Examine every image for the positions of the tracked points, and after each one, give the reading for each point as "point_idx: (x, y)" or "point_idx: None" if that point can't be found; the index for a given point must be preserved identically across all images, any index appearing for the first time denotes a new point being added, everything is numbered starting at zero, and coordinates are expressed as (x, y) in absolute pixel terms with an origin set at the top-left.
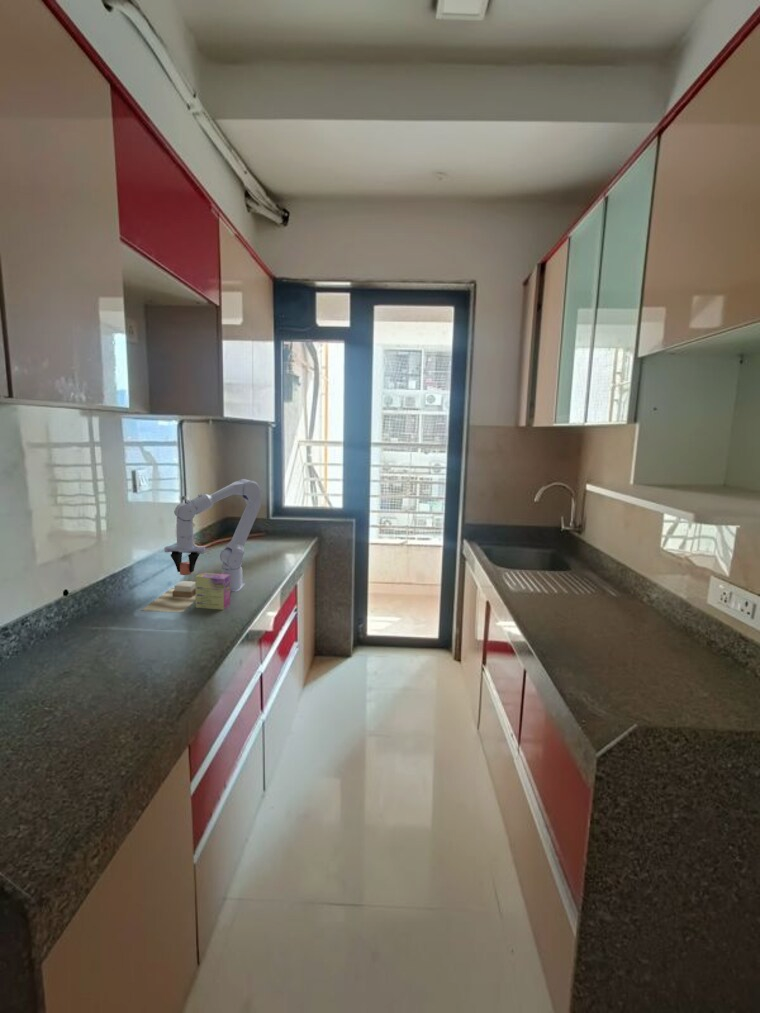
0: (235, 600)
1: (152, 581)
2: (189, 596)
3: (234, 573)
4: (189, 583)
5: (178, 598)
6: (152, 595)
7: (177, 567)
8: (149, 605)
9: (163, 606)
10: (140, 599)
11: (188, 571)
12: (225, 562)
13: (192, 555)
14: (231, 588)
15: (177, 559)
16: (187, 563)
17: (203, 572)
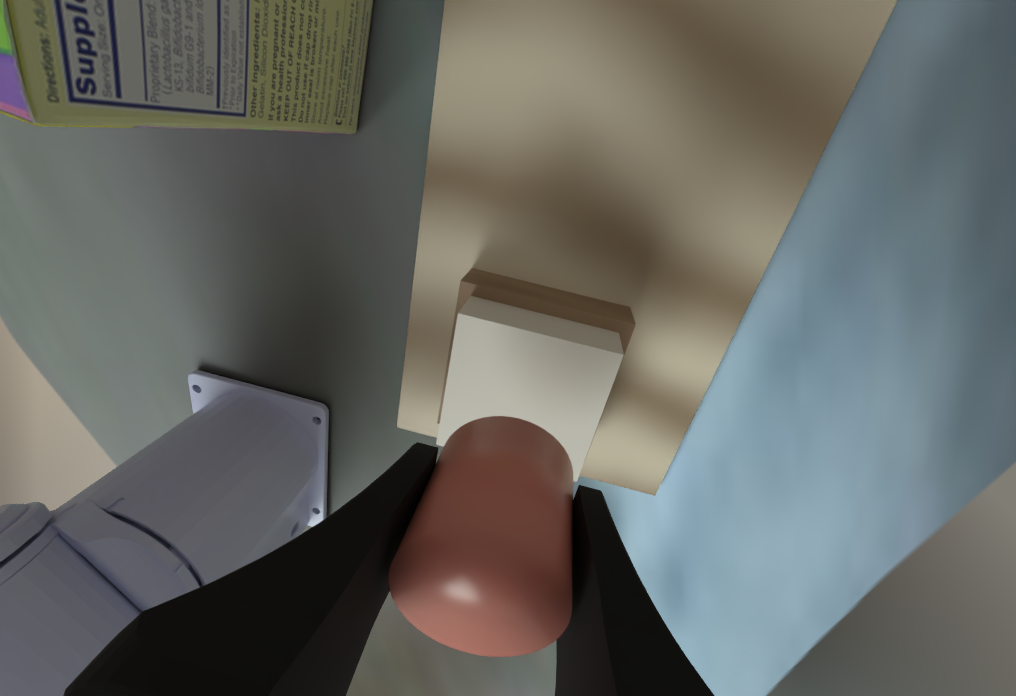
0: (142, 194)
1: (789, 641)
2: (487, 273)
3: (103, 479)
4: (489, 405)
5: (576, 255)
6: (796, 390)
7: (604, 533)
8: (847, 60)
9: (697, 14)
10: (907, 307)
11: (450, 453)
12: (72, 597)
13: (124, 682)
14: (228, 399)
15: (608, 674)
16: (442, 581)
17: (14, 106)
